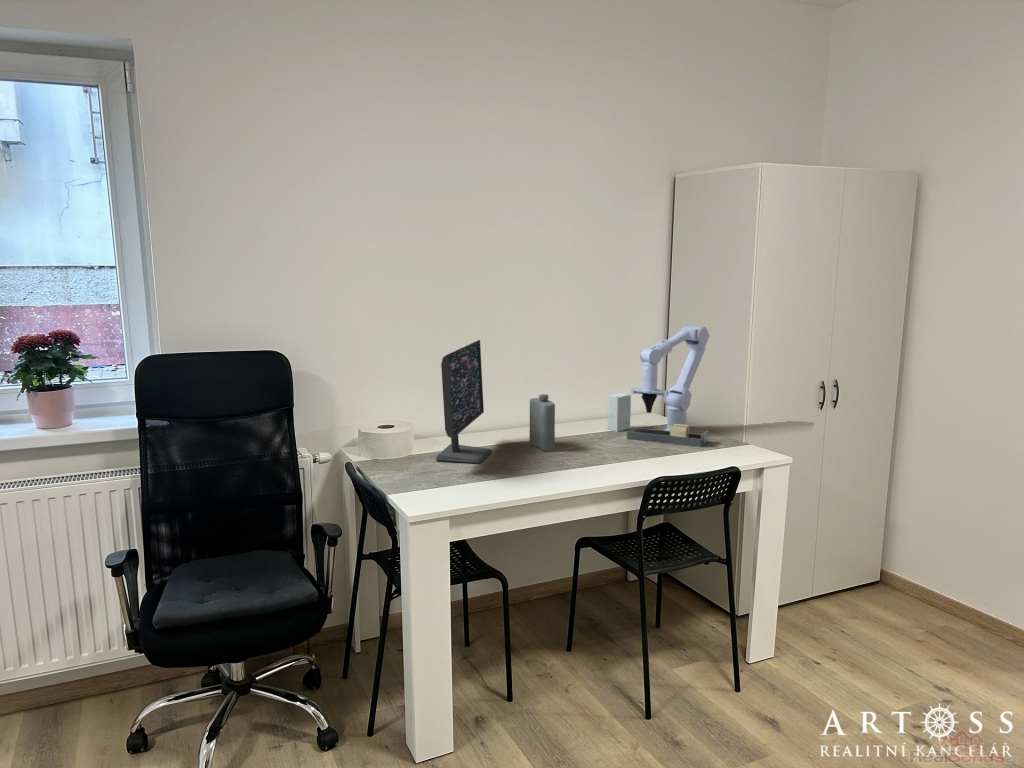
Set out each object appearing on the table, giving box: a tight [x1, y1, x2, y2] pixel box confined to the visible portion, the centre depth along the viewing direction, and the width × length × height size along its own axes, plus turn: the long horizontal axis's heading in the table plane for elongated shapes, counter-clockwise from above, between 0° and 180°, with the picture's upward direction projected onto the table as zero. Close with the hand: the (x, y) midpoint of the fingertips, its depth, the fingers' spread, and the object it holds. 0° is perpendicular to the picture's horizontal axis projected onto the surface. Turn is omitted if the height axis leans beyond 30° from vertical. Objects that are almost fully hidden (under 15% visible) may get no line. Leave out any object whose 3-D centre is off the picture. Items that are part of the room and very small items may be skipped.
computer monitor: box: [435, 339, 492, 464], centre depth 273 cm, size 44×16×40 cm, turn 168°
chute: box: [626, 427, 710, 448], centre depth 299 cm, size 9×30×4 cm, turn 64°
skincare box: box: [606, 392, 632, 433], centre depth 317 cm, size 8×6×15 cm
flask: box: [529, 393, 556, 452], centre depth 288 cm, size 15×6×20 cm, turn 24°
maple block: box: [670, 424, 690, 438], centre depth 297 cm, size 6×6×5 cm
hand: (649, 412), depth 306 cm, fingers closed
